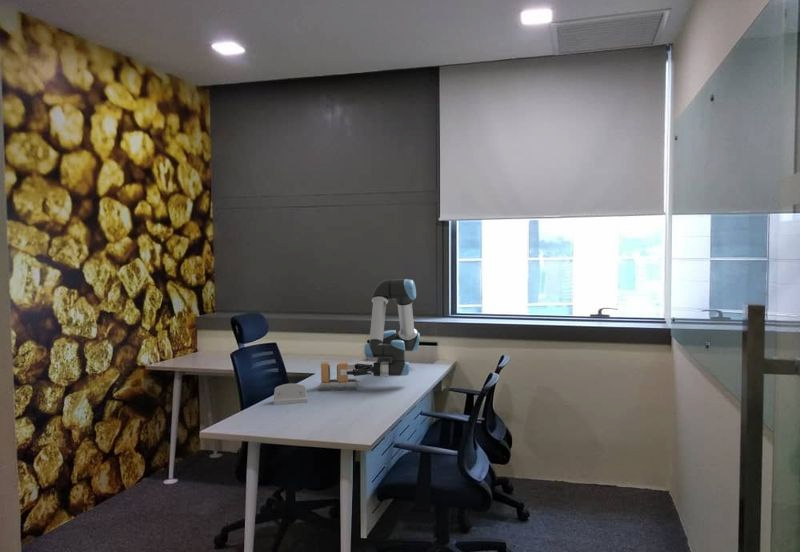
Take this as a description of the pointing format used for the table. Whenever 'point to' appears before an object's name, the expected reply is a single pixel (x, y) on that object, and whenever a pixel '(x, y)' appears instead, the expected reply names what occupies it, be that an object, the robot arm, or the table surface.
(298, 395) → the hinge
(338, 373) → the orange wooden block
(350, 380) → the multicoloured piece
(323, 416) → the table surface
